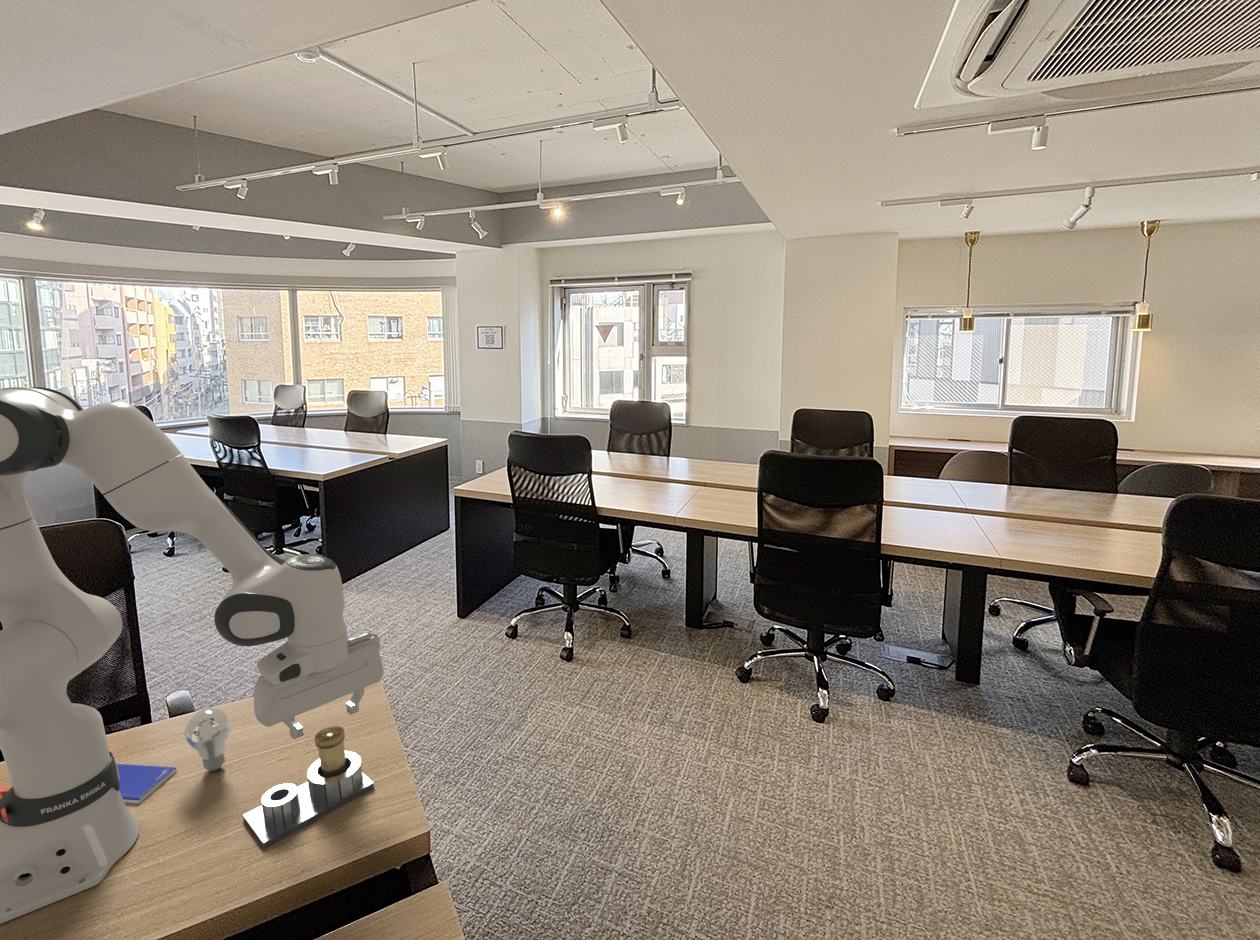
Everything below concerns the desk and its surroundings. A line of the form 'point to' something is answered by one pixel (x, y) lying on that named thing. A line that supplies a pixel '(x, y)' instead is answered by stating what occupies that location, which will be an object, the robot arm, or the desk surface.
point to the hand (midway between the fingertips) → (326, 723)
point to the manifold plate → (305, 801)
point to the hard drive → (141, 780)
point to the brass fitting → (331, 751)
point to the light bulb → (209, 736)
